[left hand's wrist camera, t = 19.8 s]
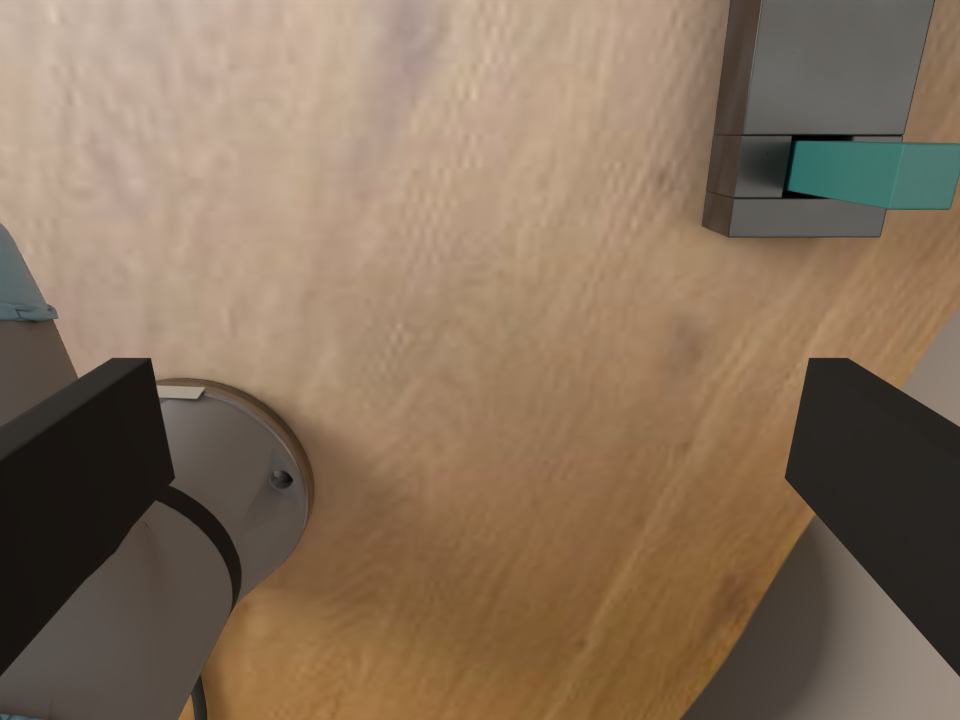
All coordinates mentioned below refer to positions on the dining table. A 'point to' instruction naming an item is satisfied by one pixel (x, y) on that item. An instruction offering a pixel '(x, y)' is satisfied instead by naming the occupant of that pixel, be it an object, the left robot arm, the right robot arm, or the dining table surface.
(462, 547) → the dining table surface
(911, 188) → the peg
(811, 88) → the peg board
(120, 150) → the dining table surface
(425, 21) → the dining table surface
